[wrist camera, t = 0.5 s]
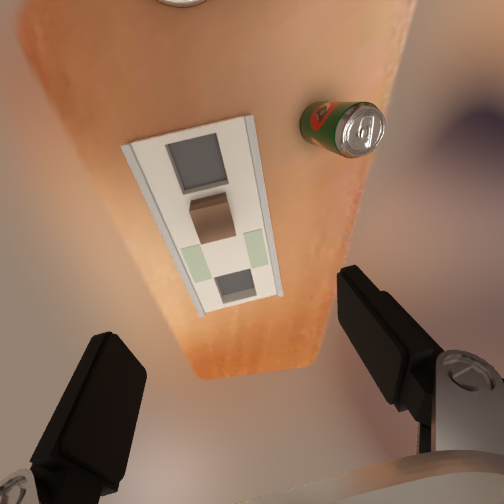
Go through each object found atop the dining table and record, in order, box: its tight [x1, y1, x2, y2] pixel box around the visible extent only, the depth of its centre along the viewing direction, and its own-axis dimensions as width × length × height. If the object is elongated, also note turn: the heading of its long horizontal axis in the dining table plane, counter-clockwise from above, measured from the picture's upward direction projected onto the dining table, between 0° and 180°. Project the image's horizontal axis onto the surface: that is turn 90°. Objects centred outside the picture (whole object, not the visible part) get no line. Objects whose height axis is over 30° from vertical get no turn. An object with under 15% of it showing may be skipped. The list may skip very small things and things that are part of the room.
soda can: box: [300, 102, 385, 158], centre depth 28 cm, size 5×5×12 cm
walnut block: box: [189, 192, 236, 245], centre depth 33 cm, size 5×5×4 cm
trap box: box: [120, 114, 283, 317], centre depth 38 cm, size 30×16×3 cm, turn 11°
